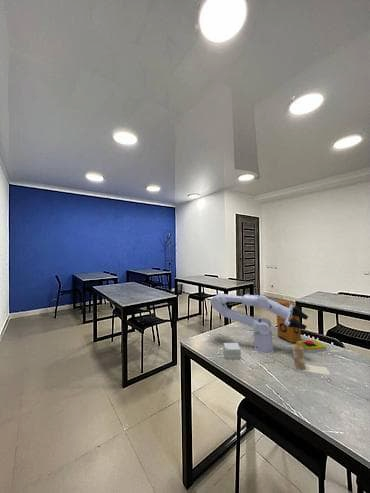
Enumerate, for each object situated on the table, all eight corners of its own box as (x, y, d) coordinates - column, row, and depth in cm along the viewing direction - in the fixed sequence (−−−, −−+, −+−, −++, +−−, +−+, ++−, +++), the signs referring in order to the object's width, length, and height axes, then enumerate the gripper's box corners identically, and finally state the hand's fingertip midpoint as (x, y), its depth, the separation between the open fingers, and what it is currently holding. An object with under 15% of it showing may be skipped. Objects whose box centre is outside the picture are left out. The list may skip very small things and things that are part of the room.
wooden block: (295, 368, 96) (293, 348, 96) (294, 364, 100) (292, 344, 100) (305, 369, 95) (303, 349, 95) (304, 365, 98) (302, 345, 99)
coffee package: (290, 344, 120) (289, 305, 121) (275, 336, 132) (273, 300, 132) (304, 341, 123) (302, 303, 124) (288, 333, 135) (286, 299, 135)
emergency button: (292, 339, 119) (318, 337, 120) (293, 346, 119) (318, 345, 120) (303, 346, 109) (330, 344, 111) (304, 355, 109) (331, 352, 111)
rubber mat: (281, 373, 94) (281, 371, 94) (280, 357, 107) (280, 356, 107) (335, 382, 86) (335, 381, 86) (326, 364, 99) (326, 363, 99)
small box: (238, 352, 114) (238, 342, 114) (241, 359, 106) (240, 349, 107) (223, 351, 115) (223, 342, 115) (225, 359, 107) (224, 349, 107)
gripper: (279, 313, 105) (308, 327, 100) (284, 296, 116) (311, 308, 111) (274, 322, 109) (302, 336, 104) (279, 305, 120) (305, 317, 114)
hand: (306, 322), depth 107 cm, fingers open, 7 cm apart
